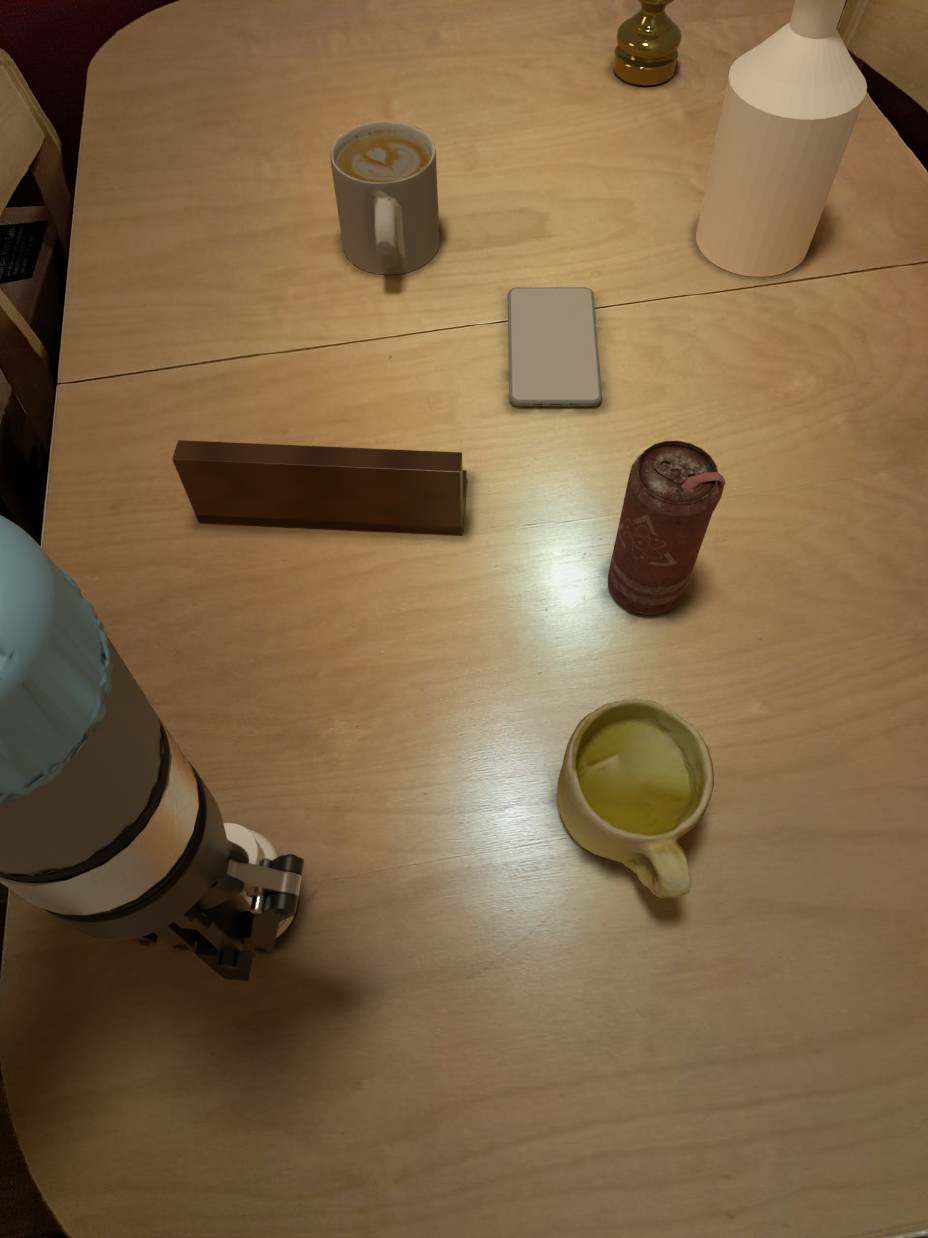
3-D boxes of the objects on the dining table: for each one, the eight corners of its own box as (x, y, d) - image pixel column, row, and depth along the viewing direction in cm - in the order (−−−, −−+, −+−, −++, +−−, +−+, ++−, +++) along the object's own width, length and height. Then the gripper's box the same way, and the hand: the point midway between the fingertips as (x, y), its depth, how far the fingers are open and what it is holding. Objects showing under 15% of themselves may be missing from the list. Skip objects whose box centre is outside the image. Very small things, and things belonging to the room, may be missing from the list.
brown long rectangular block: (198, 523, 78) (171, 459, 71) (213, 467, 81) (188, 401, 74) (462, 535, 77) (460, 472, 70) (466, 478, 80) (465, 412, 73)
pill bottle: (315, 891, 62) (289, 839, 54) (265, 963, 60) (230, 921, 51) (250, 850, 64) (215, 794, 56) (199, 919, 61) (155, 871, 53)
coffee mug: (354, 208, 99) (343, 116, 91) (447, 216, 99) (444, 124, 90) (324, 292, 93) (309, 201, 84) (423, 302, 92) (418, 211, 83)
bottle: (703, 280, 93) (770, 9, 71) (684, 205, 99) (741, -65, 78) (822, 276, 93) (925, 4, 72) (796, 201, 99) (883, -70, 78)
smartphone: (509, 401, 84) (507, 286, 91) (509, 409, 84) (507, 294, 92) (603, 401, 83) (593, 285, 91) (601, 409, 84) (592, 294, 92)
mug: (522, 724, 66) (582, 686, 57) (652, 732, 69) (728, 697, 60) (529, 905, 62) (595, 895, 53) (667, 905, 65) (751, 896, 56)
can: (692, 617, 73) (734, 505, 61) (610, 618, 73) (636, 506, 61) (682, 553, 76) (720, 434, 64) (603, 554, 76) (627, 436, 64)
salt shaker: (605, 57, 114) (616, -35, 105) (664, 50, 115) (680, -42, 106) (621, 90, 110) (634, -2, 102) (682, 83, 111) (700, -9, 102)
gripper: (289, 740, 38) (357, 901, 58) (-25, 720, 38) (150, 885, 58) (252, 931, 34) (339, 1033, 54) (-97, 905, 34) (117, 1014, 54)
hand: (240, 956), depth 56 cm, fingers closed
